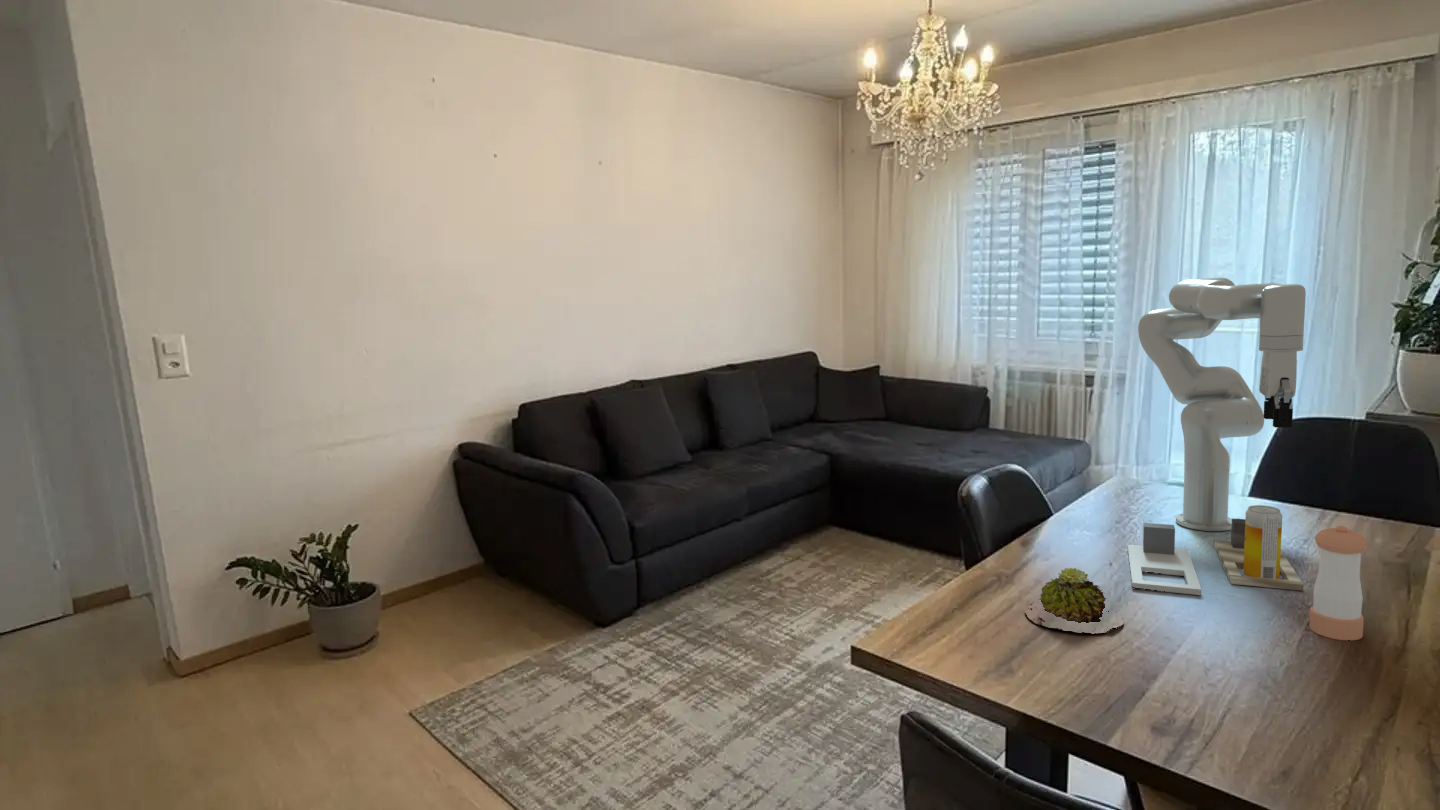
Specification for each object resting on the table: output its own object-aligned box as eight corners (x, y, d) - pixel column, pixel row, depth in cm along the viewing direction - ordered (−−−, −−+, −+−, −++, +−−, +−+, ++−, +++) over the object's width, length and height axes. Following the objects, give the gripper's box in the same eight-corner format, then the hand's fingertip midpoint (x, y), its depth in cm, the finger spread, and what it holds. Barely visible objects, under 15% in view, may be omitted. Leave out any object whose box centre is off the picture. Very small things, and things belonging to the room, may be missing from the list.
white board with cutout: (1127, 549, 176) (1128, 519, 175) (1187, 554, 171) (1188, 523, 170) (1132, 588, 155) (1132, 554, 154) (1201, 595, 150) (1202, 560, 149)
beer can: (1267, 572, 159) (1270, 504, 157) (1286, 584, 153) (1289, 512, 151) (1236, 573, 159) (1239, 505, 157) (1254, 585, 153) (1257, 513, 151)
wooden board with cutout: (1214, 545, 175) (1215, 515, 174) (1277, 550, 170) (1278, 519, 169) (1230, 583, 154) (1232, 550, 153) (1303, 590, 149) (1305, 555, 148)
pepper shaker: (1349, 644, 128) (1356, 536, 125) (1300, 629, 134) (1306, 525, 131) (1371, 633, 131) (1378, 527, 128) (1322, 618, 137) (1328, 517, 135)
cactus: (1026, 633, 140) (1026, 583, 138) (1022, 599, 155) (1022, 553, 153) (1131, 642, 134) (1132, 589, 133) (1116, 605, 149) (1117, 558, 148)
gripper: (1251, 340, 169) (1248, 415, 171) (1267, 347, 154) (1264, 430, 156) (1293, 339, 165) (1289, 416, 168) (1313, 346, 150) (1309, 431, 153)
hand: (1277, 422), depth 162 cm, fingers open, 9 cm apart
